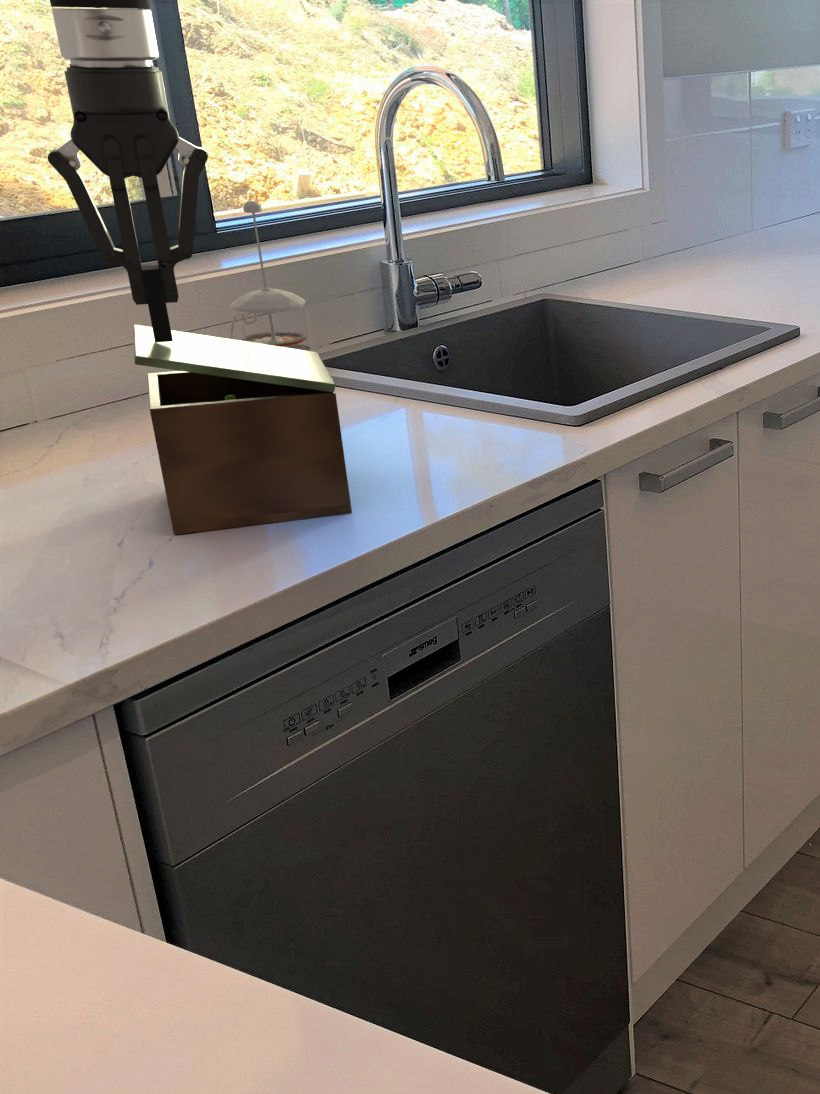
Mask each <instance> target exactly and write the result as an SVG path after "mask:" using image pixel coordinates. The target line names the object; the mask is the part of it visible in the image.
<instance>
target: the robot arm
mask: <svg viewBox="0 0 820 1094" xmlns="http://www.w3.org/2000/svg"><path fill="white" fill-rule="evenodd" d="M49 3H50V7H51V12H52V17H53V21H54V27H55V32H56V36H57V41H58V46H59V49H60V50H59V51H60V52H59V53H60V56H61V57H62V58H63V59H64V60H68V61H70V63H69V66H67V67H66V70H64V77H65V83H66V86H67V91H68V97H69V101H70V107H71V111H72V117H73V123H72V126H71V129H70V134H69V135H70V138H71V139H69V140H68V141H66V142H65V143H64V144H62V145H61V146H59V147H58V148H57V149H52V150H50V151H49V153H48V155H47V161H48V163H49V164H50V165H51V167H52V168H54V170H55V171H56V172H57V173H58V174H59V175H60V176H61V177H62V178H63V179H64V180H65V182H66V185H67V186H68V189H69V191H70V194H71V195H72V197H73V200H74V201H75V204H76V206H77V208H78V210H79V212H80V214H81V216H82V219H83V221H84V223H85V225H86V227H87V229H88V231H89V233H90V236H91V238H92V239H93V242H94V244H95V246H96V248H97V250H98V252H99V254H100V256H101V258H102V260H103V261H104V262H105V263H107V264H113V265H118V266H121V267H123V268H124V269H125V270H126V272H127V277H128V282H129V286H130V292H131V297H132V300H133V302H134V303H135V305H136V306H138V305H139V306H140V305H147V307H148V312H149V317H150V323H151V327H152V329H153V334H154V339H155V342H169V341H173V339H172V333H171V330H172V327H171V323H170V318H169V311H168V306H167V304H170V303H171V304H172V303H178V301H179V297H180V296H179V291H178V285H177V281H176V274H175V266H176V265H177V264H178V263H180V262H182V261H185V260H189V259H191V258H192V256H193V252H194V241H195V229H196V216H197V205H198V204H197V203H198V191H199V180H200V175H201V173H202V171H203V169H204V167H205V165H206V164H207V161H208V159H209V155H208V153H207V152H208V151H206V149H205V148H203V147H201V146H196V145H194V144H192V143H191V142H189V141H187V140H185V139H184V138H182V137H180V135H179V131H178V129H177V128H176V126H175V125H174V123H173V122H172V119H171V118H170V113H169V112H170V111H169V107H168V101H167V95H166V88H165V84H164V78H163V73H162V71H161V70H159V67H156V66H154V64H153V61H155V60H157V59H158V58H159V57H160V54H159V49H158V44H157V38H156V32H155V26H154V25H155V24H154V20H153V14H152V9H151V7H150V1H149V0H49ZM175 149H176V150H177V153H178V162H179V164H180V165H181V166H182V167H183V172H182V179H181V192H180V203H179V204H180V205H179V218H178V228H177V229H178V231H177V244H176V245H173V246H170V241H169V236H168V231H167V225H166V220H165V214H164V208H163V204H162V203H163V202H162V198H161V192H160V187H159V182H158V175H159V174H161V173H162V171H164V168H165V167H166V165H167V163H168V161H169V159H170V158H171V156H172V154H173V152H174V151H175ZM79 152H81V153H82V154H83V155H84V156H85V157H86V158H87V159H88V160H89V161H90V162H91V163H92V164H93V165H94V166H95V167H96V168H97V169H98V170H99V171H100V172H101V173H102V174H103V175H105V176H107V177H108V180H109V184H110V189H111V190H110V191H111V194H112V199H113V205H114V209H115V215H116V219H117V221H116V222H117V226H118V231H119V236H120V240H121V246H122V249H121V248H118V247H116V245H115V244H114V242H113V239H112V237H111V236H110V233H109V231H108V229H107V227H106V225H105V223H104V220H103V219H102V216H101V214H100V212H99V209H98V208H97V206H96V203H95V201H94V199H93V197H92V195H91V193H90V190H89V187H88V186H87V183H86V182H85V179H84V178H83V175H82V174H81V173H80V171H79V169H80V168H81V166H82V161H81V159H80V156H79ZM130 177H136V178H140V179H141V182H142V186H143V191H144V196H145V203H146V207H147V212H148V213H147V214H148V218H149V223H150V229H151V235H152V240H153V244H154V250H155V256H156V260H157V264H147V265H146V264H145V265H142V261H141V256H140V255H141V254H140V249H139V244H138V239H137V233H136V229H135V223H134V217H133V212H132V206H131V201H130V196H129V191H128V185H127V180H126V179H127V178H130Z"/></svg>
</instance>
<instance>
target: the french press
mask: <svg viewBox="0 0 820 1094" xmlns="http://www.w3.org/2000/svg"><path fill="white" fill-rule="evenodd" d="M242 207H243V208H242V209H243V212H244V213H246V214H247V213H248V214H252V220H253V225H254V232H255V239H256V244H257V251H258V257H259V262H260V268H261V269H260V270H261V275H262V282H263V287H260V289H257V290H253V291H249V292H248V291H247V292H246V293H245V294H243V295H241V296H239V297H237V298H236V299H235V300H233V302H231V303H229V304H230V305H229V306H230V308H231V309H232V310H234V311H236V312H238V313H237V314H236V315H234V317H233V319H232V320H231V324H230V339H233V340H235V339H234V327H235V322H236V320H237V318H238V317H240V316H241V319H242V322H243V325H242V335H243V337H242V338H241V339H240V341H247V342H253V343H260V344H266V345H273V346H279V347H286V348H293V349H299V350H306V351H312V348H311V346H308V345H306V344H301V343H304V342H305V341H306V340H307V335H306V334H305V333H302V332H299V331H289V330H288V331H286V330H285V332H284V331H278V330H276V331H275V330H274V323H273V318H272V314H275V313H277V314H278V313H283V312H291V311H295V310H299V309H302V308H304V307H305V305H306V300H305V299H304V298H302V297H301V296H299V295H297V294H295V293H293V292H291V291H288V290H283V289H280V288H272V287H268V286H267V282H266V276H265V275H266V274H265V269H264V263H263V262H264V261H263V256H262V251H261V244H260V238H259V232H258V231H259V230H258V226H257V220H256V213H262V212H263V209H262V206H261V205H260V203H259V202H257V201H253V200H250V201H247V202H246V203H244V205H243V206H242ZM244 313H246V315H244ZM251 314H253V316H254V320H253V321H247V320H248V318H249V315H251ZM257 314H268V318H269V324H270V332H269V331H267V332H266V331H264V332H256V333H252V334H251V333H250V334H248V335H247V334H246V333H247V332H246V327H247V326H246V325H248V326H249V325H253V324H255V323H256V322H257V320H258V318H257V316H258V315H257Z"/></svg>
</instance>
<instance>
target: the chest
mask: <svg viewBox="0 0 820 1094" xmlns="http://www.w3.org/2000/svg"><path fill="white" fill-rule="evenodd" d="M146 376H147V390H148V403H149V404H148V406H149V414H150V418H151V419H150V420H151V424H152V430H153V435H154V439H155V445H156V450H157V455H158V460H159V465H160V470H161V475H162V480H163V485H164V486H163V487H164V491H165V496H166V501H167V502H166V503H167V507H168V511H169V517H170V522H171V523H170V524H171V528H172V533H173V535H175V536H176V535H184V534H194V533H202V532H210V531H217V530H218V531H219V530H226V529H227V530H228V529H235V528H243V527H249V526H250V527H251V526H259V525H260V526H261V525H266V524H267V525H268V524H275V523H284V522H292V521H301V520H309V519H319V518H327V517H333V516H342V515H343V516H344V515H350V514H353V511H352V510H353V509H352V505H351V504H352V503H351V495H350V487H349V480H348V473H347V466H346V459H345V450H344V445H343V444H344V443H343V436H342V429H341V421H340V415H339V414H340V413H339V407H338V399H337V393H336V392H328V391H321V390H314V389H307V388H299V387H292V386H285V385H278V384H271V383H264V382H257V381H249V380H242V379H235V378H228V377H221V376H214V375H206V374H199V373H192V372H185V371H178V370H173V371H163V372H162V371H161V372H149V373H146ZM227 395H234V396H235V398H236V400H225V397H226V396H227Z"/></svg>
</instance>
